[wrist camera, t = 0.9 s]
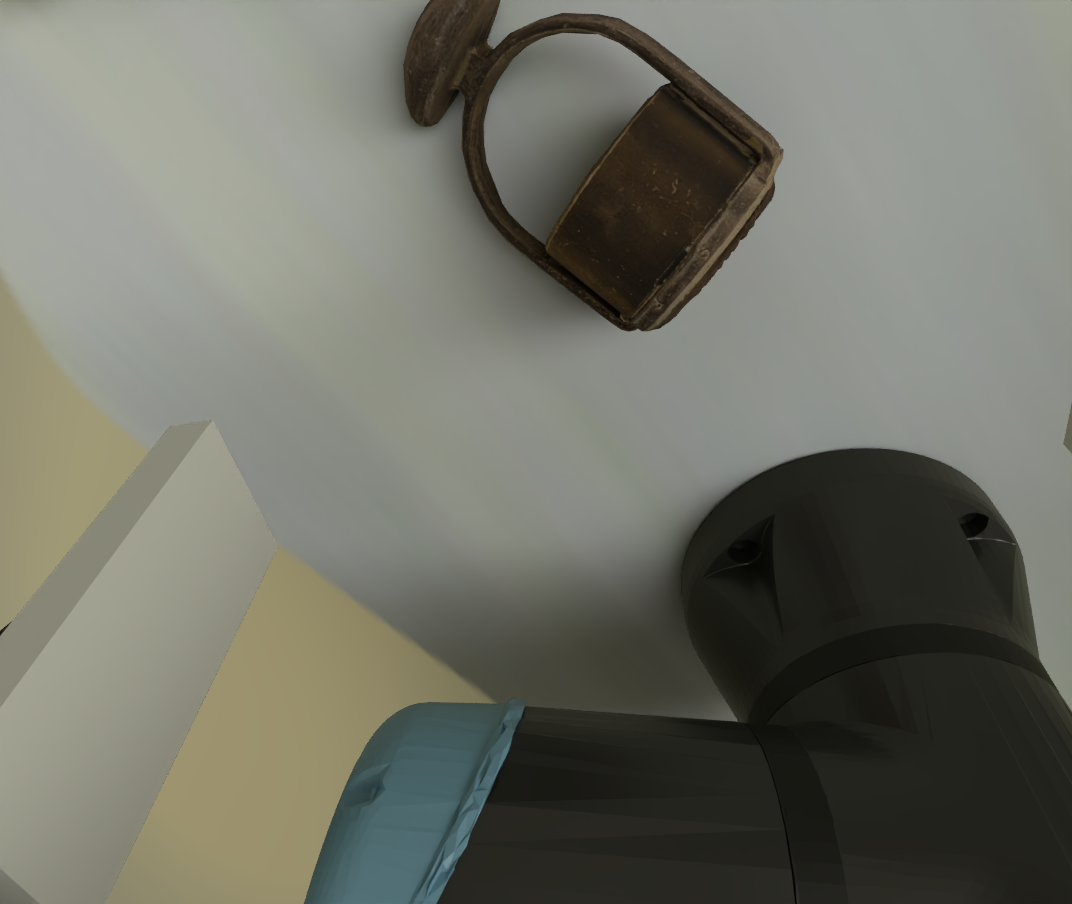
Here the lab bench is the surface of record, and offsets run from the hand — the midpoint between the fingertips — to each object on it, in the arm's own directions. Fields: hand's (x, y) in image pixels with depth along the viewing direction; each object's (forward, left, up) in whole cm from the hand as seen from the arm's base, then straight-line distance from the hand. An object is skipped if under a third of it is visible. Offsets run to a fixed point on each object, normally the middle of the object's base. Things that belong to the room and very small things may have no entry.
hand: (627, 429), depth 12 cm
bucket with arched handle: (+1, 0, -19) cm, 19 cm away
